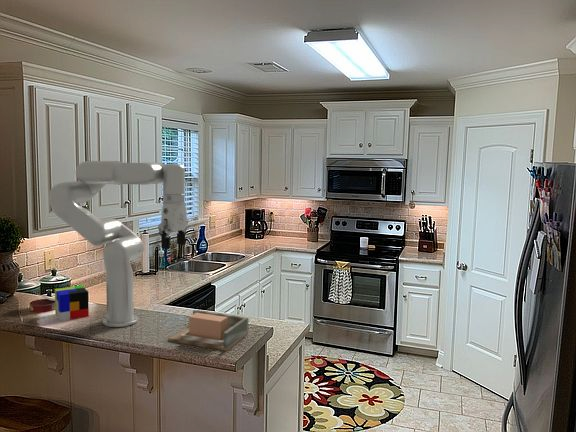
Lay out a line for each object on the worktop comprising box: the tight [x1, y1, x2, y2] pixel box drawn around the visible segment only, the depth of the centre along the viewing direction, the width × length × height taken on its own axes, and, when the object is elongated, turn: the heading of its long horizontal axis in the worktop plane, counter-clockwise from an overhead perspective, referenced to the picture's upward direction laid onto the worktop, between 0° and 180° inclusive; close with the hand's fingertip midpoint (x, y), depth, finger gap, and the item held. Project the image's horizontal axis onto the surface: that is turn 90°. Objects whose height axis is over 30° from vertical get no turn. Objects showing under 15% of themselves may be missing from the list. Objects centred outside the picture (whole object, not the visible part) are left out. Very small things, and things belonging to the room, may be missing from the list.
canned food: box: [29, 289, 55, 314], centre depth 191 cm, size 11×10×10 cm
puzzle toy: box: [54, 285, 90, 322], centre depth 184 cm, size 10×10×10 cm
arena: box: [167, 309, 250, 352], centre depth 165 cm, size 22×17×6 cm
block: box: [188, 313, 228, 341], centre depth 162 cm, size 12×5×7 cm, turn 71°
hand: (173, 246), depth 171 cm, fingers open, 9 cm apart
